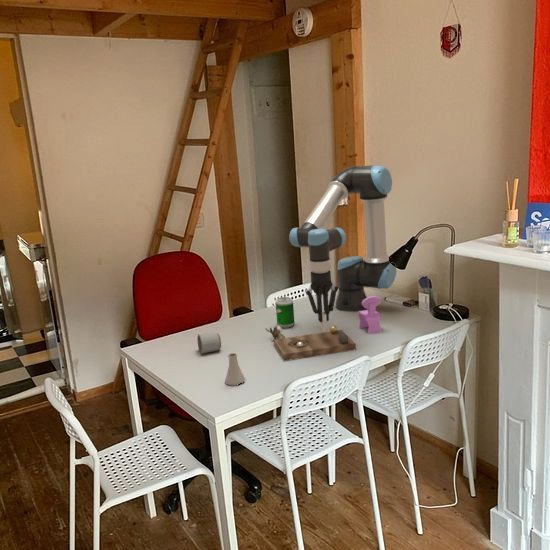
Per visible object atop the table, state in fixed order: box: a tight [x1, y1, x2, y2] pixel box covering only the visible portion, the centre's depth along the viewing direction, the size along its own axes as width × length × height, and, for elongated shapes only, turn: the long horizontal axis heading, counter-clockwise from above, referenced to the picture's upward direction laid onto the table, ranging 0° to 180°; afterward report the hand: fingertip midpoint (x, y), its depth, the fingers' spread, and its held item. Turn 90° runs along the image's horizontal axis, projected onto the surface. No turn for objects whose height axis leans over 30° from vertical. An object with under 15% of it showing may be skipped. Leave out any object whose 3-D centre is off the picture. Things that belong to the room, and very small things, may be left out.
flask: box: [224, 352, 246, 386], centre depth 196 cm, size 7×7×10 cm
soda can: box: [275, 296, 295, 329], centre depth 248 cm, size 8×8×12 cm
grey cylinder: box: [197, 332, 222, 355], centre depth 227 cm, size 11×8×8 cm
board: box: [273, 329, 357, 361], centre depth 222 cm, size 28×16×2 cm, turn 103°
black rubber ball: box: [338, 332, 349, 343], centre depth 218 cm, size 4×4×4 cm
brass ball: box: [329, 325, 338, 333], centre depth 229 cm, size 3×3×3 cm
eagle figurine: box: [265, 325, 286, 342], centre depth 232 cm, size 8×7×9 cm
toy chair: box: [358, 295, 383, 335], centre depth 236 cm, size 8×9×15 cm
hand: (324, 329), depth 223 cm, fingers closed
